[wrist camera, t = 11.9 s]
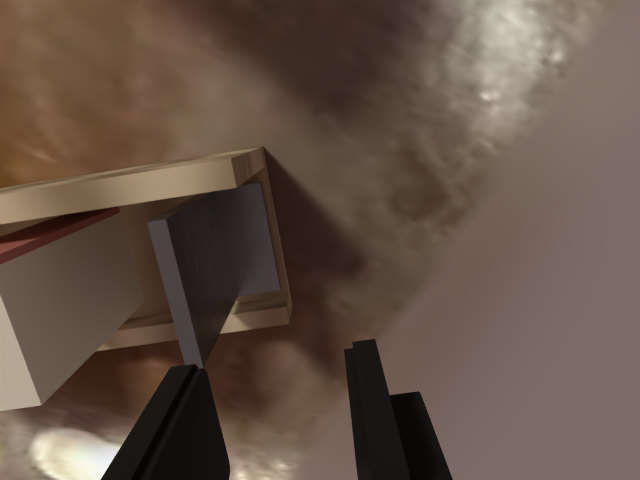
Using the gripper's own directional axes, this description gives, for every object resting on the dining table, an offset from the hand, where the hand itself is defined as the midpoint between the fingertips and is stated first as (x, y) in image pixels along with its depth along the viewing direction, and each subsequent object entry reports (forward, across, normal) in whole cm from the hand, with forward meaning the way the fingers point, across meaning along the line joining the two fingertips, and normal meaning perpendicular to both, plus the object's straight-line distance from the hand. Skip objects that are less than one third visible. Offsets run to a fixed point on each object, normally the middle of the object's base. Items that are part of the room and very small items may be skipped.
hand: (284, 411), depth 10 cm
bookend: (+18, +4, 0) cm, 18 cm away
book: (+18, +13, 0) cm, 22 cm away
